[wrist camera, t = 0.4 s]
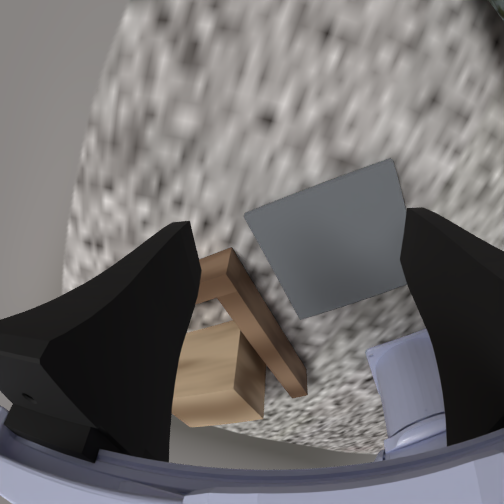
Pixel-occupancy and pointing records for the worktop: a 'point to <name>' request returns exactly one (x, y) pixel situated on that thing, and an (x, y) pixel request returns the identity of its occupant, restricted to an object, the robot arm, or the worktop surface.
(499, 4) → the bowl
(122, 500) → the robot arm
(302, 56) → the worktop surface
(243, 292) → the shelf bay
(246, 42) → the worktop surface
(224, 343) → the gripped blank
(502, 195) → the worktop surface
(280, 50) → the worktop surface
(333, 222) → the mat
